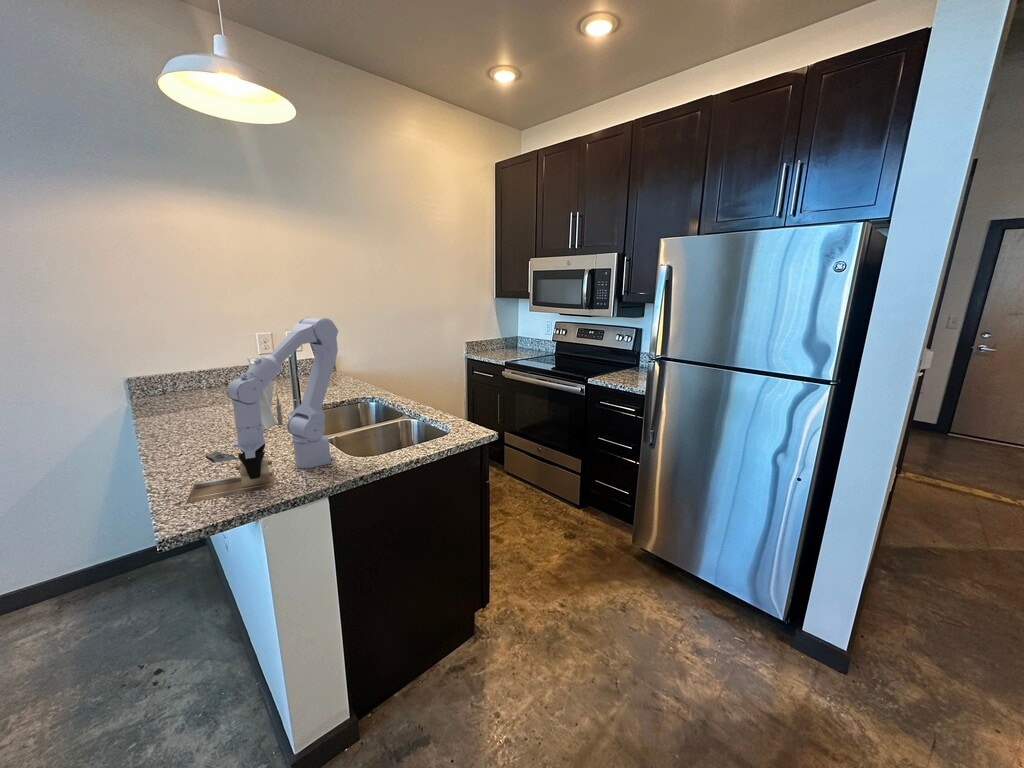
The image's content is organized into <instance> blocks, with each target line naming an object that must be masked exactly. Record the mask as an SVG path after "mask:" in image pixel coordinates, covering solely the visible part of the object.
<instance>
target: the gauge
mask: <svg viewBox="0 0 1024 768" xmlns="http://www.w3.org/2000/svg"><path fill="white" fill-rule="evenodd" d="M272 465H273V461H272V460H268V455H264V456H263V459H262V462H261V473H260V478H256V479H250V477H249V475H248V473H247V470H246V468H245V466H244V464H243V463H242V462H241V461H239V465H236V466H235V471H239V473H240V476H241V481H242V487H245V486H250V485H256V484H261V483H267V482H269V481H270V474H269V471H270V469H269V466H272Z"/></svg>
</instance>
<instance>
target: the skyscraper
mask: <svg viewBox="0 0 1024 768" xmlns="http://www.w3.org/2000/svg"><path fill="white" fill-rule="evenodd" d="M256 358H261V357H260V356H248V357H247V358H246V359H247V362H248V363H249V364H248V369H249V368H250V367H251V366H253V365H254V364H255V362H254V360H255V359H256ZM273 386H274V385H273V380H272V381H271V382H270V383H269V384H268V385H267V386H266V387H265V388H264V390H263V396H262V398H261V399H259V403H260V410H261V419H262V427H263V429H267V428H271V427H272V426H275V425H277V424H278V425H283V426H284V422H283V415H282V405H280V399H279V396H278V395H279V394H276V403H277V404H276V406H275V407H276V413H277V415H276V418H277V419H276V418H275V416H274V414H273V413H274V412H273V410H272V403H273V394H274V392H273V391H274V387H273ZM276 420H277V421H276Z"/></svg>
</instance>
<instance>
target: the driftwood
mask: <svg viewBox="0 0 1024 768" xmlns="http://www.w3.org/2000/svg"><path fill="white" fill-rule="evenodd" d="M220 452H221V451H215V452H212V453H209V454H207V455H205V458H207V457H208V458H209V459H212V461H211V462H213V463H214V462H215V463H220V462H229V461H232V460H233V461H234V460H239V458H238V457H237V456H236V455H234V454H232V455H229V454H230V453H225V454H224V453H222V452H221V453H220ZM235 456H236V457H235Z"/></svg>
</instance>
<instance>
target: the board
mask: <svg viewBox="0 0 1024 768" xmlns="http://www.w3.org/2000/svg"><path fill="white" fill-rule="evenodd" d="M269 474H270V481H269V482H267V483H261V484H256V485H250V486H245V487H242V481H241V475H235V476H230V477H225V478H218V479H213V480H207V481H201V482H194V484H193V487H192V488H191V491H190V493H189V495H188V497H187V500H186V501H185V504H186V505H187V504H192V503H197V502H203V501H209V500H213V499H220V498H225V497H231V496H235V495H240V494H248V493H253V492H256V491H257V492H258V491H263V490H264V491H265V490H267V489H274V488H275V486H274V485H275V483H274V482H275V470H274V469H273V470H272V469H271V470H269Z"/></svg>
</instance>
